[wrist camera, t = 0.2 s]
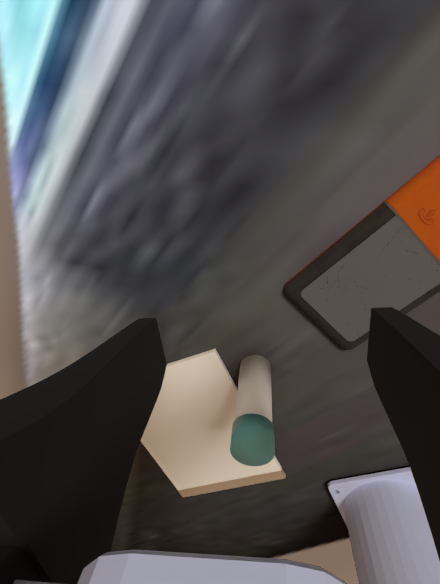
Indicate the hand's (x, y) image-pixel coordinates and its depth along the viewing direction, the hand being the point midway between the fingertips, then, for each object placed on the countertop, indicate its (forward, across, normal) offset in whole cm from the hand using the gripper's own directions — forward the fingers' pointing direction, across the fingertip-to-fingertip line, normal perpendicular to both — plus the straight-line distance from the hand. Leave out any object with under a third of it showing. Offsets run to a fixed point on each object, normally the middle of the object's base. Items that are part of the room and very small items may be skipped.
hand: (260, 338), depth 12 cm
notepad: (+10, +6, +16) cm, 20 cm away
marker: (+10, +1, +9) cm, 13 cm away
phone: (+11, -9, +1) cm, 14 cm away
